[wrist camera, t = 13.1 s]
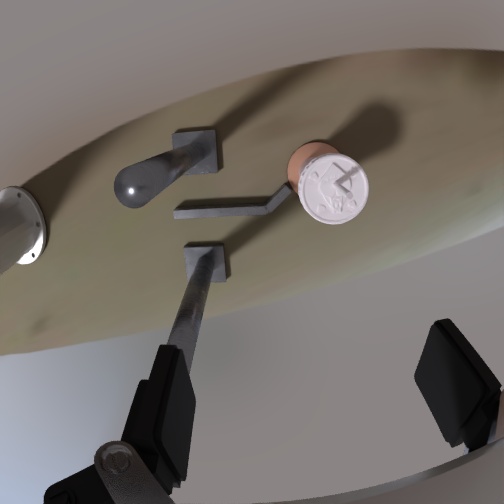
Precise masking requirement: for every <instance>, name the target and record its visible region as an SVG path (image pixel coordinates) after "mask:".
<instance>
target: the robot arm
mask: <svg viewBox="0 0 504 504" xmlns="http://www.w3.org/2000/svg"><path fill="white" fill-rule="evenodd" d="M45 244H46V225H45V220H44V217H43V214H42V211H41V209H40V207H39V205H38V203H37V202H36V200H35V199H34V197H33V196H32V195H31V194H30V193H29V192H28V191H26V190H25V189H23V188H21V187H18V186H9V187H7V188H4V189H3V190H1V191H0V275H2V274H3V273H4V272H5V271H7V270H8V269H9V268H10V267H12V266H13V265H14V264H15V263H19V264H30V263H32V262H34V261H35V260H36V259H38V258H39V257H40V255H41V254H42V252H43V250H44V248H45ZM414 377H415V382H416V384H417V386H418V387H419V389H420V391H421V393H422V395H423V397H424V399H425V401H426V403H427V404H428V407H429V408H430V411H431V412H432V414H433V416H434V418H435V420H436V422H437V424H438V426H439V429H440V431H441V433H442V434H443V437H444V439H445V441H446V442H449V443H450V445H451V447H452V448H453V447H455V446H458V445H460V444H462V443H463V442H464V443H465V445H466V446H465V450H464V453H463V456H461V457H459V458H457V459H454V460H452V461H450V462H447V463H444V464H442V465H440V466H437V467H434V468H431V469H429V470H426V471H423V472H420V473H417V474H414V475H411V476H408V477H405V478H402V479H398V480H395V481H391V482H388V483H384V484H381V485H377V486H373V487H369V488H365V489H360V490H356V491H351V492H346V493H341V494H335V495H330V496H324V497H317V498H310V499H303V500H294V501H284V502H272V503H255V504H504V390H503V391H502V392H501V390H500V388H501V386H502V385H501V384H500V382H499V381H498V379H497V378H496V377H495V375H494V374H493V373H492V371H491V370H490V369H489V367H488V366H487V365H486V363H485V362H484V361H483V359H482V358H481V357H480V355H479V354H478V353H477V352H476V350H475V349H474V348H473V347H472V345H471V344H470V343H469V342H468V340H467V339H466V338H465V337H464V335H463V334H462V333H461V332H460V331H459V329H458V328H457V327H456V326H455V324H454V323H453V322H452V321H451V320H450V319H448V318H447V319H442V320H437V321H435V322H434V324H433V325H432V326H431V328H430V331H429V334H428V337H427V340H426V343H425V346H424V349H423V352H422V355H421V358H420V360H419V363H418V366H417V369H416V371H415V375H414ZM195 406H196V399H195V395H194V391H193V388H192V384H191V380H190V376H189V373H188V369H187V365H186V361H185V357H184V353H183V350H182V349H178V348H177V345H160V346H159V348H158V351H157V355H156V358H155V361H154V364H153V367H152V370H151V373H150V377H149V380H141V381H140V382H139V384H138V387H137V390H136V393H135V396H134V399H133V403H132V405H131V408H130V412H129V415H128V418H127V421H126V424H125V428H124V431H123V434H122V438H121V441H111V442H108V443H105V444H104V445H102V446H101V447H100V448H99V449H98V450H97V451H96V454H95V456H94V464H93V465H91V466H89V467H87V468H85V469H83V470H81V471H79V472H77V473H75V474H73V475H71V476H69V477H67V478H65V479H63V480H61V481H59V482H57V483H55V484H53V485H51V486H50V487H49V488H48V489H47V490H46V492H45V495H44V503H43V504H175V503H174V501H173V500H172V499H171V498H170V496H169V495H170V494H172V488H173V487H177V488H180V484H181V481H185V480H186V476H187V467H188V459H189V452H190V444H191V436H192V428H193V421H194V414H195Z"/></svg>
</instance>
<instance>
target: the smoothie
mask: <svg viewBox="0 0 504 504" xmlns="http://www.w3.org/2000/svg"><path fill="white" fill-rule="evenodd" d="M299 177H300V179H299V183H298V194H299V198H300V201H301V203H302V205H303V207H304V208H305V210H306V211H307V212H308V213H309V214H310V215H311V216H312V217H313V218H315V219H316V220H318V221H320V222H323V223H326V224H341V223H344V222H347V221H349V220H351V219H353V218H354V217H355V216H357V215H358V214H359V213H360V211H361V210H362V209H363V207H364V205H365V203H366V201H367V198H368V193H369V184H368V179H367V176H366V174H365V172H364V170H363V169H362V167H361V166H360V165H359V164H358V163H357V162H356V161H354V160H353V159H351V158H350V157H348V156H346V155H343V154H339V153H328V154H323V155H320V156H318V157H311V158H308V159H306V160H305V161H304V162H303V163H302V164H301V166H300V169H299Z"/></svg>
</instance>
